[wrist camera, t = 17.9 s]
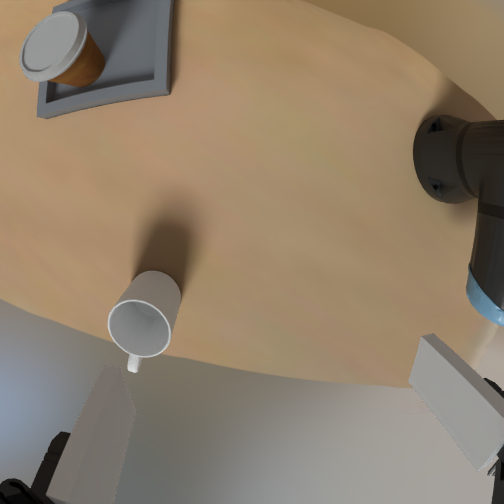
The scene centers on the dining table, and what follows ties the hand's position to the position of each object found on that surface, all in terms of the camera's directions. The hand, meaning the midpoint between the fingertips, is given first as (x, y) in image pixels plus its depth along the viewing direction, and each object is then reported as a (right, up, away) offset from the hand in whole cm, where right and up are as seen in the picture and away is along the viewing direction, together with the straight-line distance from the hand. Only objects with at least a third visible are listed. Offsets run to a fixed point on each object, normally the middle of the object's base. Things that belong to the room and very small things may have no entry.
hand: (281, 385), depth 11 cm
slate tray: (-22, +36, +20) cm, 47 cm away
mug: (-16, -3, +31) cm, 35 cm away
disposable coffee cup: (-25, +32, +20) cm, 46 cm away
